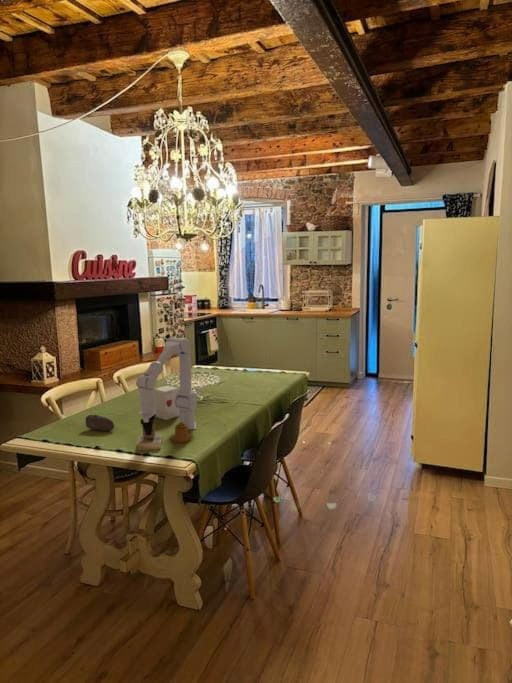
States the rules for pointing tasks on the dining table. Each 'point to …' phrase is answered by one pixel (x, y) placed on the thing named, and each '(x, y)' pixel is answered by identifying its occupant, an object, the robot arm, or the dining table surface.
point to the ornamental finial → (181, 433)
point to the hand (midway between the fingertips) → (149, 432)
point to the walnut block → (151, 433)
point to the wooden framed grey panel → (150, 442)
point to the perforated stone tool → (99, 423)
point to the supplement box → (165, 402)
